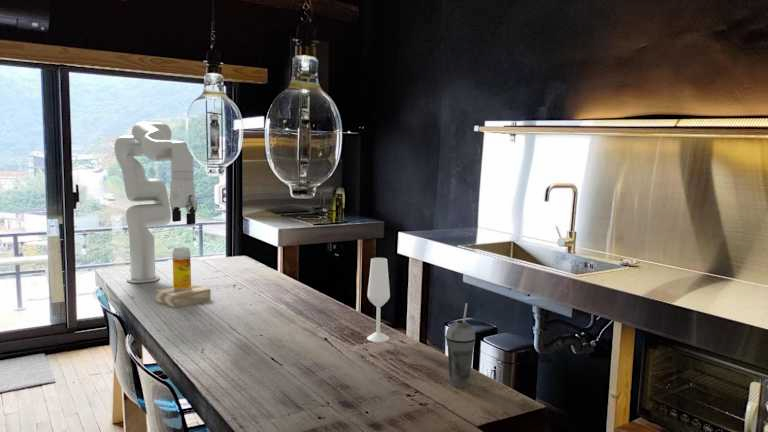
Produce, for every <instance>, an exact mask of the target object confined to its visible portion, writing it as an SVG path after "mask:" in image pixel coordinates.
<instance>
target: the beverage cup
mask: <svg viewBox="0 0 768 432" xmlns="http://www.w3.org/2000/svg"><path fill="white" fill-rule="evenodd" d="M464 305H465V306H464V311H463V312H464V313H463V318H462V320H455V321H454V322H452V323H451V324H450V325H449V326H448V328H447V331H446V333H445V334H446V335H445V339H446V340H445V341H446V346H447V358H448V360H447V361H448V373H449V374H448V375H449V376H448V377H449V384H450V385H451V386H452V387H455V388H466V387H468V386H469V383H470V377H471V368H472V361H473V354H474V347H475V343H476V340H477V339H476V332H475V330H474V328H473V326H472V325H471V324H470V323H469V322H467V321H466V316H467V312H468V311H467V309H468V303H467V302H466V303H465V304H464Z"/></svg>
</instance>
